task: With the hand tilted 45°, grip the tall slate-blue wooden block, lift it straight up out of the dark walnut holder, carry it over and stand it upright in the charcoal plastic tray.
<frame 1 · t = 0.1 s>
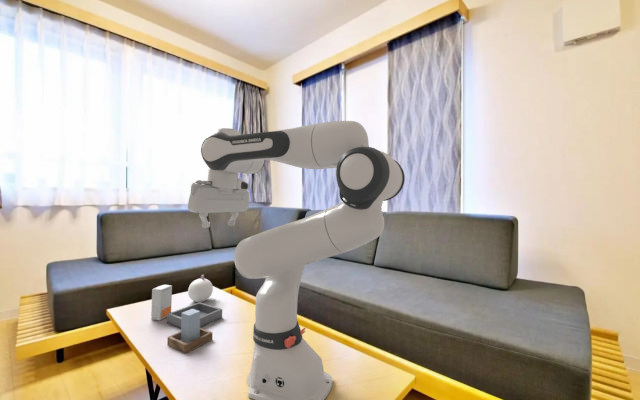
hand: (219, 226, 84), 39 cm above the table, tool pointing down, fingers open, 8 cm apart
skincare box: (161, 317, 107), on the table
slate block: (190, 327, 89), in the walnut holder
walnut holder: (190, 342, 89), on the table
ornament: (200, 301, 125), on the table
charcoal tray: (195, 320, 105), on the table
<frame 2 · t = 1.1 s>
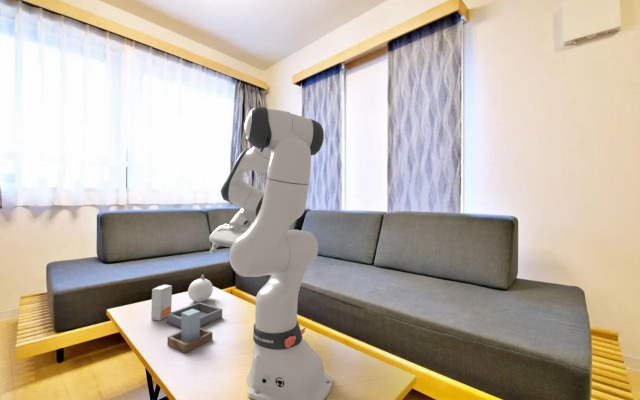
hand: (220, 255, 99), 27 cm above the table, tool tilted 45°, fingers open, 8 cm apart
nothing on the table moved.
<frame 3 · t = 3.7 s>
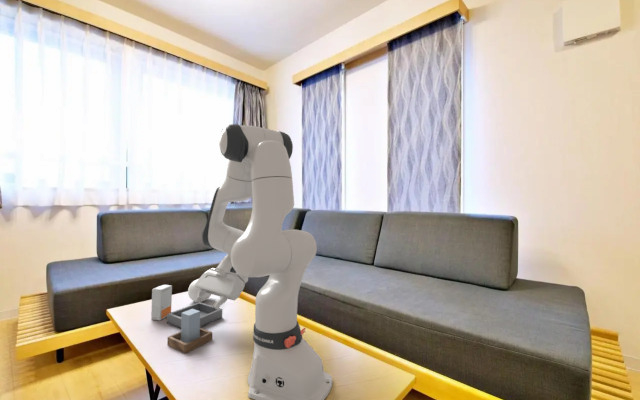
hand: (205, 305, 94), 10 cm above the table, tool tilted 45°, fingers open, 8 cm apart
nothing on the table moved.
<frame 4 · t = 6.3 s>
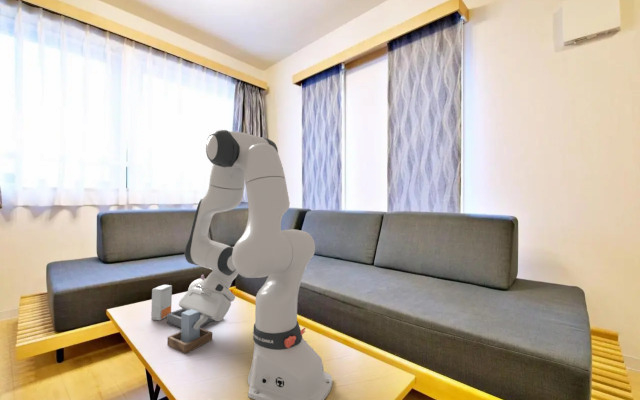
hand: (188, 326, 88), 5 cm above the table, tool tilted 45°, fingers closed on slate block, 4 cm apart
slate block: (190, 327, 89), in the walnut holder, touching gripper
everything else where it was.
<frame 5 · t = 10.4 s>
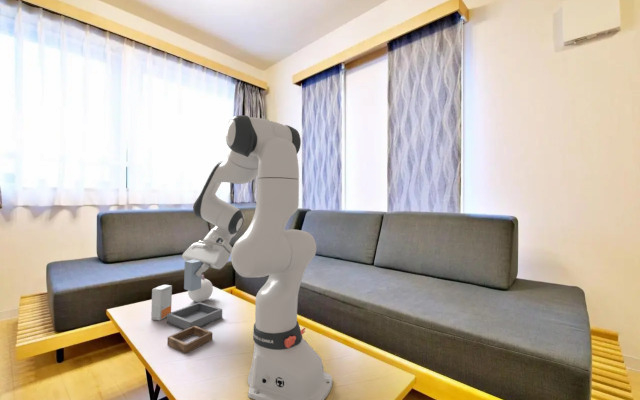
hand: (191, 274, 97), 20 cm above the table, tool tilted 45°, fingers closed on slate block, 4 cm apart
slate block: (193, 274, 97), point 20 cm above the table, touching gripper
everything else where it was.
when the fingers open (7 cm above the table, at t = 14.7 s): slate block drops 1 cm, resting on charcoal tray.
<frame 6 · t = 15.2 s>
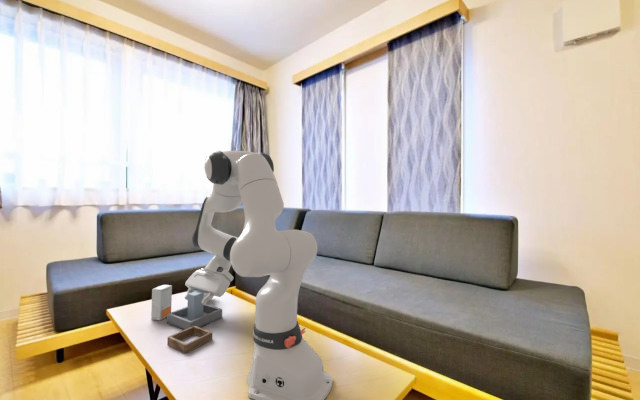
hand: (194, 301, 104), 7 cm above the table, tool tilted 45°, fingers open, 8 cm apart
slate block: (195, 306, 105), in the charcoal tray, point 6 cm above the table
everything else where it was.
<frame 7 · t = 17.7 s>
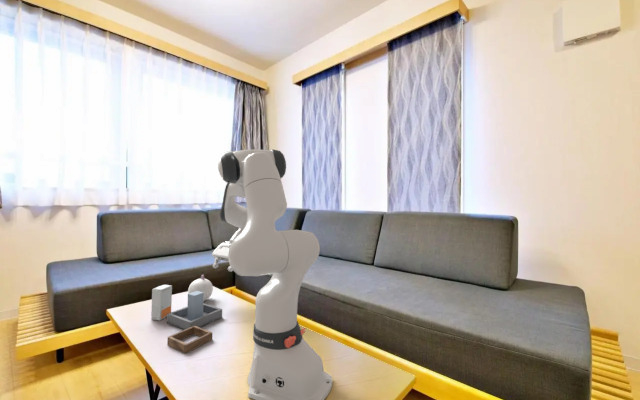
hand: (221, 269, 116), 17 cm above the table, tool tilted 45°, fingers open, 8 cm apart
nothing on the table moved.
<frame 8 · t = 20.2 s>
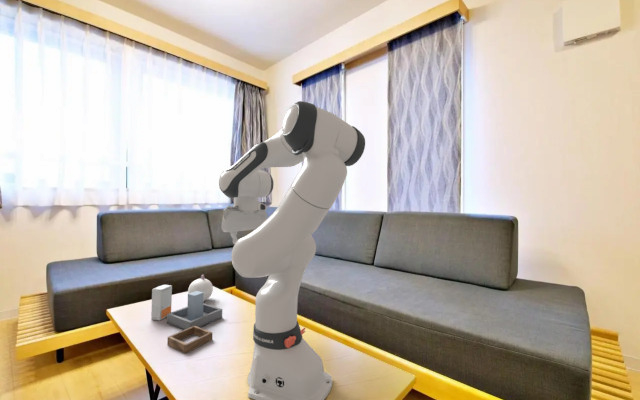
hand: (245, 242, 103), 31 cm above the table, tool pointing down, fingers open, 8 cm apart
nothing on the table moved.
at the end: slate block inside the target area on the charcoal tray (0.0 cm from its centre), point 5.6 cm above the charcoal tray's base; slate block tilted 0°; the gripper is holding nothing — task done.
